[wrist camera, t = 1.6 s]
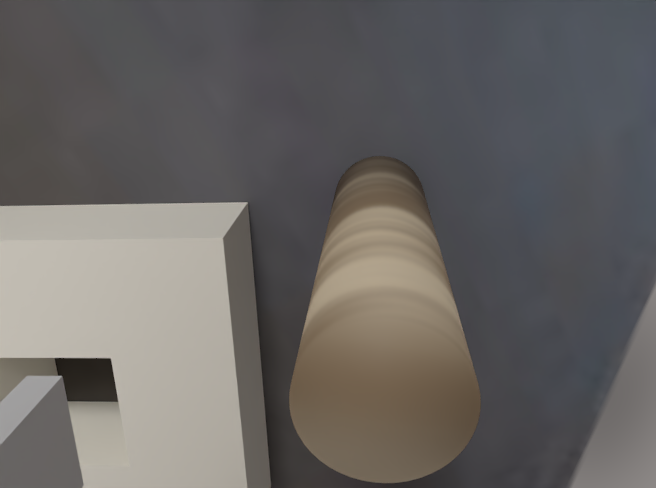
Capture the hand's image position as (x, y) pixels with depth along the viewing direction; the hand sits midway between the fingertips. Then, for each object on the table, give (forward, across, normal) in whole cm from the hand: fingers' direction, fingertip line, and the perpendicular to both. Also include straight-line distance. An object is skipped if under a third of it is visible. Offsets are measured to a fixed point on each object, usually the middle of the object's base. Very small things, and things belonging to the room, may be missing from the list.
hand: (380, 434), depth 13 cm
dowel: (+16, 0, 0) cm, 17 cm away
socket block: (+17, -14, -8) cm, 23 cm away
